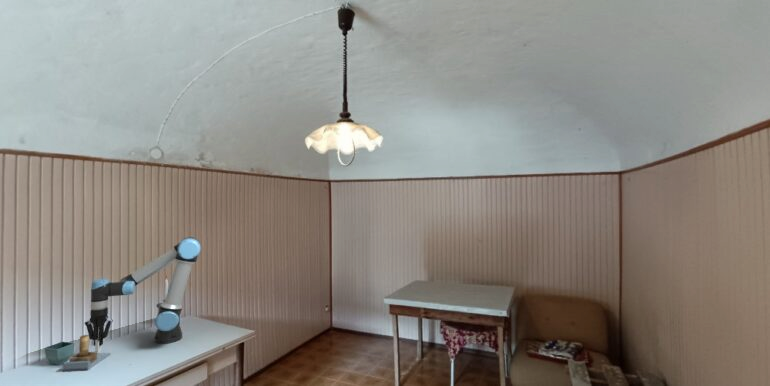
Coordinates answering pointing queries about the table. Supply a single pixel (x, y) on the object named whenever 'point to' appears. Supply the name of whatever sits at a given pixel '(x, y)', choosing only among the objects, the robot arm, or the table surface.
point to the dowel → (84, 346)
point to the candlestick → (165, 291)
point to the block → (91, 357)
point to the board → (83, 363)
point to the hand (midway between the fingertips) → (98, 351)
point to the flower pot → (59, 352)
